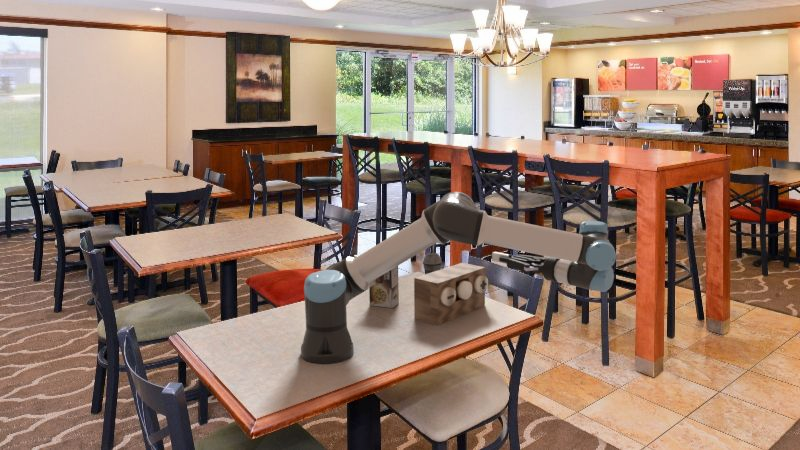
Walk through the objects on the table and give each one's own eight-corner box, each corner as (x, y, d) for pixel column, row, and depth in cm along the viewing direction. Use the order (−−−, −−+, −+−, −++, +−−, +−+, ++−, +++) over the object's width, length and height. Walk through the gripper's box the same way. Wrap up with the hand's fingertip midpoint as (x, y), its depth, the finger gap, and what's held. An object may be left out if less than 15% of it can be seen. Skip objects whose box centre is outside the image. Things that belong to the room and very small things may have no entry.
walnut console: (443, 326, 207) (443, 284, 204) (414, 318, 215) (414, 277, 212) (490, 307, 225) (491, 268, 223) (462, 300, 234) (462, 262, 231)
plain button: (461, 301, 213) (461, 283, 212) (456, 300, 214) (456, 282, 213) (472, 297, 217) (472, 280, 216) (467, 295, 219) (467, 278, 217)
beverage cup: (419, 293, 242) (419, 241, 238) (427, 288, 248) (427, 237, 244) (437, 296, 238) (437, 243, 234) (445, 291, 244) (445, 239, 241)
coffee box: (399, 303, 231) (398, 259, 228) (392, 308, 225) (391, 263, 222) (376, 300, 235) (375, 257, 231) (368, 305, 229) (367, 261, 226)
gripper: (547, 286, 186) (481, 271, 202) (570, 277, 195) (504, 263, 211) (549, 261, 184) (481, 248, 200) (571, 253, 194) (505, 241, 209)
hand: (493, 256), depth 205 cm, fingers closed
